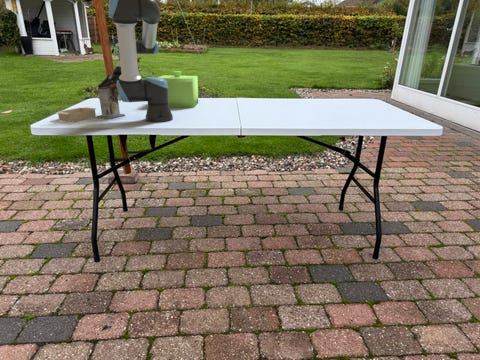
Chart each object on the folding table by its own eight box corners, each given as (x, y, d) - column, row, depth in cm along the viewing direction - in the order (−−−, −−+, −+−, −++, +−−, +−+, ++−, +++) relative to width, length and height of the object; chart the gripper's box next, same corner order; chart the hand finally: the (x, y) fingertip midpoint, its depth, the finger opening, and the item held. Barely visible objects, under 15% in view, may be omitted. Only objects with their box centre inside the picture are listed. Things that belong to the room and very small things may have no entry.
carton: (99, 116, 205) (98, 108, 203) (69, 122, 188) (68, 114, 187) (85, 114, 211) (83, 106, 209) (54, 120, 194) (53, 112, 192)
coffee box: (110, 113, 209) (107, 86, 203) (120, 114, 208) (117, 86, 202) (101, 116, 201) (97, 87, 195) (111, 116, 199) (107, 88, 194)
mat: (125, 116, 207) (125, 114, 207) (109, 119, 197) (109, 117, 197) (113, 114, 212) (113, 112, 211) (97, 117, 202) (97, 115, 201)
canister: (157, 107, 237) (155, 72, 228) (164, 102, 257) (162, 69, 248) (194, 107, 236) (192, 72, 228) (198, 102, 256) (197, 70, 248)
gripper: (142, 75, 208) (130, 104, 201) (107, 73, 215) (94, 101, 207) (136, 66, 201) (123, 96, 194) (100, 65, 208) (87, 93, 201)
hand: (108, 99), depth 201 cm, fingers open, 13 cm apart
